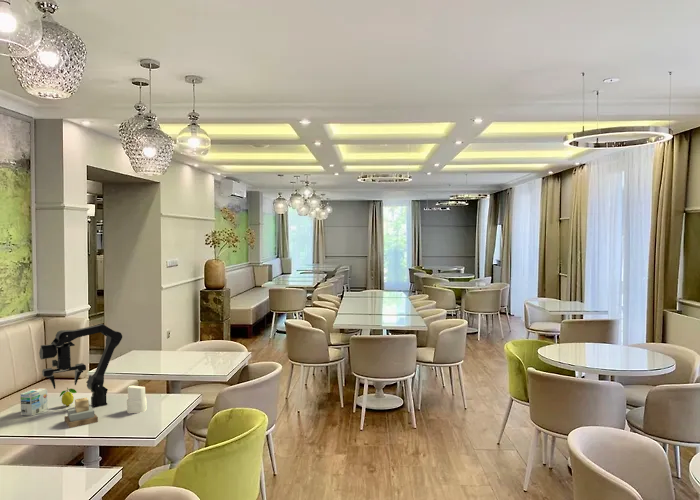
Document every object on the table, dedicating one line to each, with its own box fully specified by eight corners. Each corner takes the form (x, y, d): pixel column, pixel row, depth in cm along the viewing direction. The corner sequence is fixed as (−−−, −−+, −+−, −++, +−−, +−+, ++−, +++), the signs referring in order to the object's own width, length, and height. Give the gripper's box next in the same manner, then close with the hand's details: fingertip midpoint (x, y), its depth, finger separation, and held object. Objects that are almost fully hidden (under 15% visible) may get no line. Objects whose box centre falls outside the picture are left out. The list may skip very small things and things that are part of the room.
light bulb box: (31, 416, 256) (31, 394, 255) (20, 415, 257) (19, 393, 257) (48, 409, 266) (47, 388, 266) (37, 408, 267) (36, 387, 267)
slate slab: (91, 411, 253) (90, 405, 253) (94, 417, 245) (94, 410, 245) (67, 416, 247) (67, 409, 247) (70, 421, 239) (70, 415, 239)
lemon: (77, 405, 271) (76, 386, 271) (66, 408, 266) (65, 389, 266) (70, 403, 274) (69, 384, 274) (59, 406, 270) (58, 387, 269)
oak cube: (86, 407, 250) (86, 397, 250) (88, 410, 246) (88, 399, 246) (75, 409, 247) (74, 399, 247) (77, 412, 243) (76, 402, 243)
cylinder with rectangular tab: (123, 412, 258) (122, 388, 257) (137, 407, 266) (136, 383, 266) (137, 414, 254) (136, 390, 254) (150, 408, 263) (149, 385, 262)
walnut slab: (92, 416, 254) (92, 410, 254) (97, 423, 245) (97, 417, 245) (64, 422, 247) (64, 416, 247) (69, 429, 238) (69, 423, 237)
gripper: (81, 350, 271) (82, 380, 272) (39, 356, 260) (41, 387, 260) (85, 353, 263) (86, 384, 263) (43, 359, 251) (44, 391, 251)
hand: (65, 386), depth 259 cm, fingers open, 9 cm apart
